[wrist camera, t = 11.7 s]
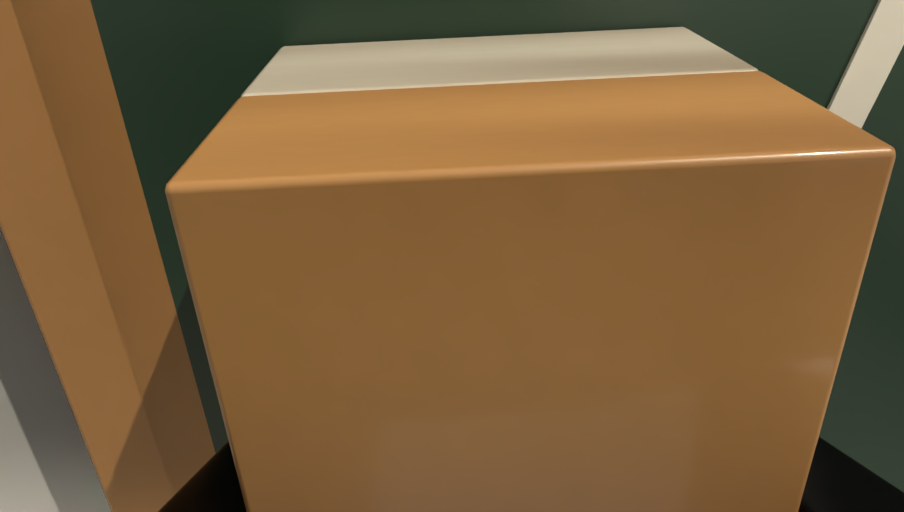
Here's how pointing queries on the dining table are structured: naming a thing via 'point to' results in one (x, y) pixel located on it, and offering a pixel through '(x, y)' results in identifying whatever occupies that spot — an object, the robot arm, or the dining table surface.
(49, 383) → the dining table surface
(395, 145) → the eraser
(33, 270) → the chalkboard
